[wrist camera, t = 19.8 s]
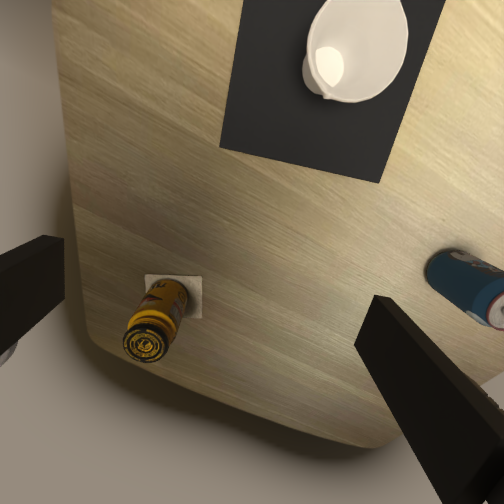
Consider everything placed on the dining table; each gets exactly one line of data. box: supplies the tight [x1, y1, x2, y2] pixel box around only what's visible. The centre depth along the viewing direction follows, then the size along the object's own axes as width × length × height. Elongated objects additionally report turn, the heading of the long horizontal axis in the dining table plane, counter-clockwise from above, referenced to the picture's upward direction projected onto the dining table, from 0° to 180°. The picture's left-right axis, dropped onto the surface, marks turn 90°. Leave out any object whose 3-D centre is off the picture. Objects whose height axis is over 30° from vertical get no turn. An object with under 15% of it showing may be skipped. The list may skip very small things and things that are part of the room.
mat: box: [219, 0, 446, 183], centre depth 34 cm, size 22×22×1 cm
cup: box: [302, 0, 408, 103], centre depth 30 cm, size 9×9×10 cm
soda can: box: [427, 250, 504, 331], centre depth 39 cm, size 7×7×12 cm
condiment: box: [123, 274, 202, 363], centre depth 39 cm, size 7×8×12 cm
